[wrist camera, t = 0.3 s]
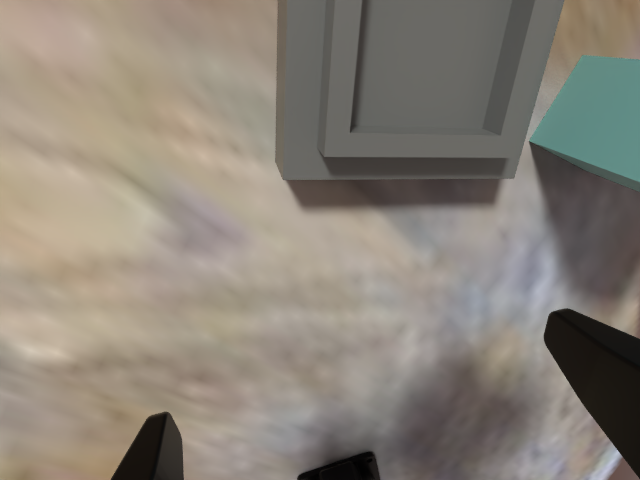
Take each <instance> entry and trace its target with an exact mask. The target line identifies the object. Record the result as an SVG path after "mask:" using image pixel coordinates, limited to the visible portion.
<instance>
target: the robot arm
mask: <svg viewBox="0 0 640 480" xmlns="http://www.w3.org/2000/svg"><path fill="white" fill-rule="evenodd" d="M544 342H545V344H546V346H547V348H548V350H549V351H550V353H551V354H552V356H553V358H554V359H555V361H556V362H557V364H558V366H559V367H560V369H561V371H562V372H563V374H564V375H565V377H566V379H567V380H568V382H569V383H570V385H571V387H572V388H573V390H574V391H575V393H576V395H577V396H578V398H579V399H580V401H581V402H582V403H583V405H584V406H585V408H586V409H587V410H588V412H589V413H590V414H591V416H592V417H593V418H594V420H595V421H596V422H597V424H598V425H599V426H600V427H601V429H602V430H603V431H604V433H605V434H606V435H607V437H608V438H609V439H610V441H611V442H612V443H613V445H614V446H615V447H616V448H617V450H618V451H619V452H620V454H621V455H622V456H623V458H624V459H625V460H626V462H627V463H628V464H629V466H630V467H631V468H632V469H633V471H634V472H635V473H636V475H637V476H638V477H639V479H640V339H639V338H636V337H634V336H632V335H629V334H627V333H625V332H622V331H620V330H618V329H615V328H613V327H611V326H608V325H606V324H604V323H601V322H599V321H597V320H595V319H592V318H590V317H588V316H585V315H583V314H581V313H578V312H576V311H574V310H571V309H561V310H557V311H553V312H551V313H550V314H549V316H548V320H547V324H546V328H545V332H544ZM111 480H184V474H183V449H182V438H181V434H180V432H179V430H178V428H177V426H176V424H175V422H174V420H173V418H172V416H171V414H170V413H169V412H162V413H158V414H154V415H151V416H149V417H148V418H147V419H146V421H145V423H144V424H143V426H142V428H141V429H140V431H139V433H138V434H137V436H136V438H135V439H134V441H133V443H132V444H131V446H130V448H129V449H128V451H127V453H126V454H125V456H124V458H123V460H122V461H121V463H120V465H119V466H118V468H117V470H116V471H115V473H114V475H113V476H112V478H111ZM297 480H380V478H379V473H378V468H377V464H376V459H375V456H374V454H373V453H372V452H367V453H364V454H361V455H358V456H355V457H352V458H349V459H346V460H343V461H340V462H337V463H334V464H331V465H328V466H325V467H322V468H319V469H316V470H313V471H310V472H307V473H304V474H301V475H299V476H298V478H297Z"/></svg>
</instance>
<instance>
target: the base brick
mask: <svg viewBox="0 0 640 480" xmlns="http://www.w3.org/2000/svg"><path fill="white" fill-rule="evenodd" d="M563 3H564V0H278V28H277V93H276V158H275V162H276V164H277V167H278V169H279V172H280V174H281V177H282V179H283V180H364V179H514V177H515V173H516V170H517V166H518V162H519V159H520V155H521V152H522V148H523V145H524V141H525V138H526V134H527V131H528V127H529V123H530V120H531V116H532V113H533V109H534V106H535V102H536V99H537V95H538V92H539V88H540V84H541V81H542V77H543V74H544V70H545V67H546V63H547V60H548V56H549V53H550V49H551V45H552V42H553V38H554V35H555V31H556V28H557V24H558V21H559V17H560V14H561V10H562V6H563Z"/></svg>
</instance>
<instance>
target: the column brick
mask: <svg viewBox="0 0 640 480" xmlns="http://www.w3.org/2000/svg"><path fill="white" fill-rule="evenodd" d="M529 141H530V142H532V143H534V144H536V145H538V146H539V147H541V148H543V149H545V150H547V151H549V152H551V153H553V154H555V155H557V156H559V157H560V158H562V159H564V160H566V161H568V162H570V163H572V164H574V165H576V166H578V167H580V168H581V169H583V170H585V171H588V172H590V173H593V174H595V175H598V176H600V177H603V178H605V179H608V180H610V181H613V182H615V183H618V184H621V185H623V186H626V187H628V188H631V189H633V190H636V191H638V192H640V60H638V59H625V58H612V57H600V56H587V55H582V57H581V58H580V60H579V62H578V63H577V65H576V66H575V68H574V70H573V71H572V73H571V74H570V76H569V78H568V79H567V81H566V83H565V84H564V86H563V87H562V89H561V91H560V92H559V94H558V95H557V97H556V99H555V100H554V102H553V103H552V105H551V107H550V108H549V110H548V111H547V113H546V115H545V116H544V118H543V119H542V121H541V123H540V124H539V126H538V127H537V129H536V131H535V132H534V134H533V135H532V137H531V139H530V140H529Z"/></svg>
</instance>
